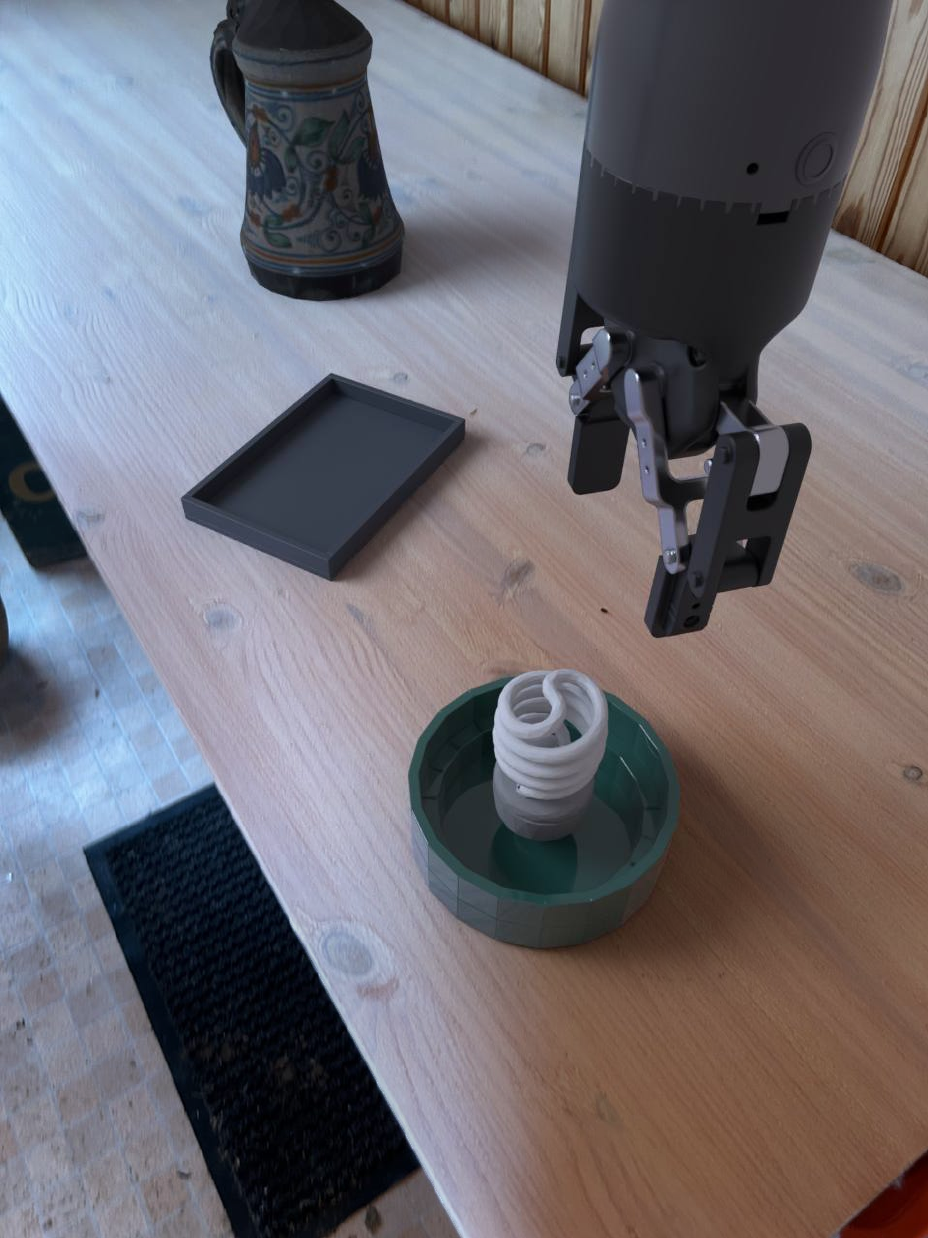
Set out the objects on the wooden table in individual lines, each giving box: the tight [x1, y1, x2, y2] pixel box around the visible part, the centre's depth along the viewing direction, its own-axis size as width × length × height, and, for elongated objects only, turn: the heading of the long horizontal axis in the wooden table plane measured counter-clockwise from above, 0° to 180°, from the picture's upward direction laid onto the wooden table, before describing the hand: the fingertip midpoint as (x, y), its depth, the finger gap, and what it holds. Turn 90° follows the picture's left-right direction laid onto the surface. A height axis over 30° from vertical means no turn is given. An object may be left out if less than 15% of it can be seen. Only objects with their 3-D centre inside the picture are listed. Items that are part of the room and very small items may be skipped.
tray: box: [180, 372, 466, 582], centre depth 75 cm, size 19×13×2 cm
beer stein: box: [209, 0, 406, 302], centre depth 90 cm, size 16×19×25 cm
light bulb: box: [493, 668, 608, 841], centre depth 50 cm, size 6×6×12 cm
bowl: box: [407, 675, 681, 949], centre depth 53 cm, size 14×14×5 cm
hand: (629, 553), depth 39 cm, fingers open, 8 cm apart
